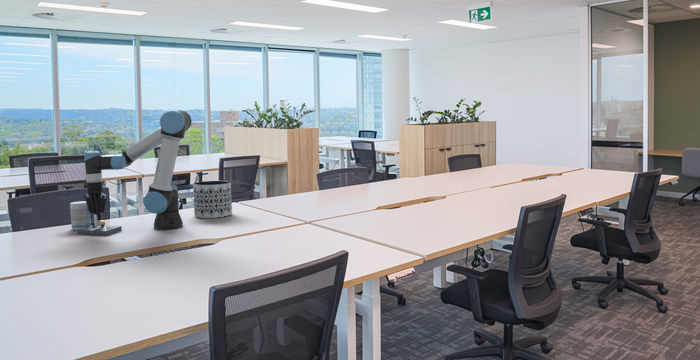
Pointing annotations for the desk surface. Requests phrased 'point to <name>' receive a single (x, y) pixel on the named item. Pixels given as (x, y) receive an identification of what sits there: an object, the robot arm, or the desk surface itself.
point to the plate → (99, 230)
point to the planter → (212, 199)
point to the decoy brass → (102, 223)
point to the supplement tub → (79, 215)
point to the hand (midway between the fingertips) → (97, 226)
